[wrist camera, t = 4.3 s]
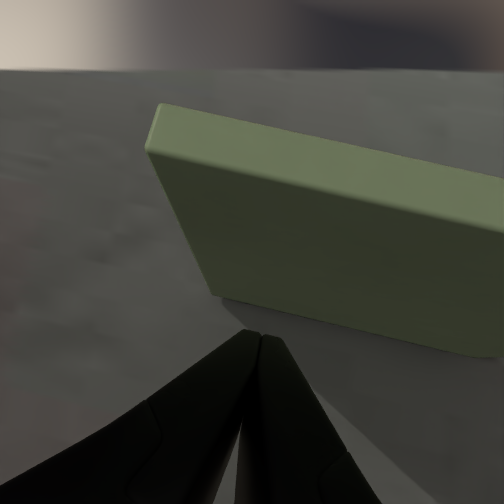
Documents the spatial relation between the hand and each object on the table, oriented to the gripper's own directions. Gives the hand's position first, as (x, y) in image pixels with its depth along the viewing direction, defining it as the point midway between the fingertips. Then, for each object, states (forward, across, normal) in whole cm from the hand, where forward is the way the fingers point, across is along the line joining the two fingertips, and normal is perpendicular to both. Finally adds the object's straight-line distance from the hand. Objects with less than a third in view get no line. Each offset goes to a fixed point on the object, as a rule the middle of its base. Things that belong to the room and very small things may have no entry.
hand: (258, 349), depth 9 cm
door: (+8, +3, -5) cm, 10 cm away
